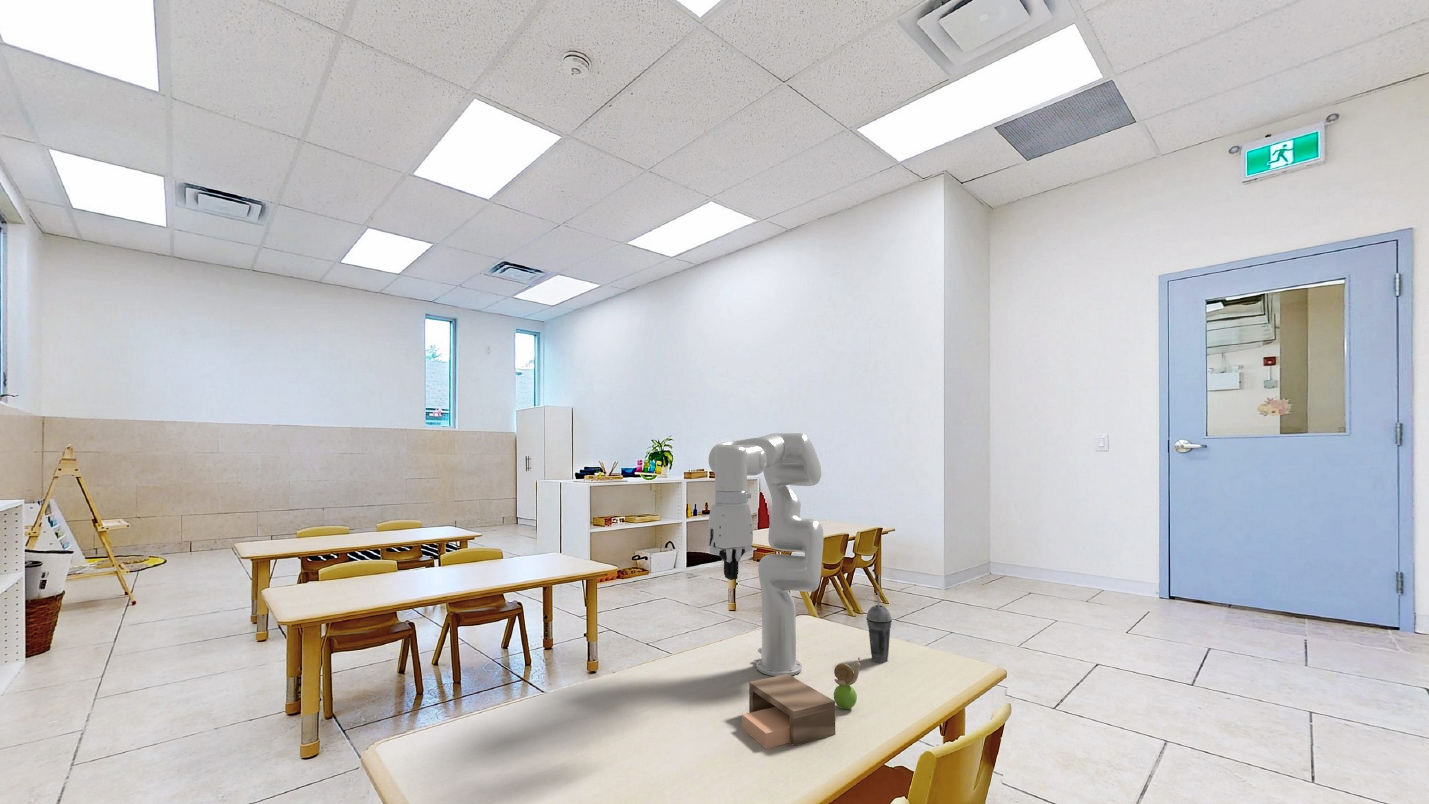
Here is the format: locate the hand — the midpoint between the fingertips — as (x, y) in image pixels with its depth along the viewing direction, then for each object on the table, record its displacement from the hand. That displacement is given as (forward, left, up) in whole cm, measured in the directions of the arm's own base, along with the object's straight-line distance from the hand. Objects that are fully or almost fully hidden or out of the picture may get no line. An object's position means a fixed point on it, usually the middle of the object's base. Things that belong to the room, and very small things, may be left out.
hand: (731, 578), depth 142 cm
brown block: (+7, +11, -32) cm, 35 cm away
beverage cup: (-14, +58, -32) cm, 68 cm away
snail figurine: (+7, +28, -32) cm, 43 cm away
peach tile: (+9, +7, -33) cm, 35 cm away
